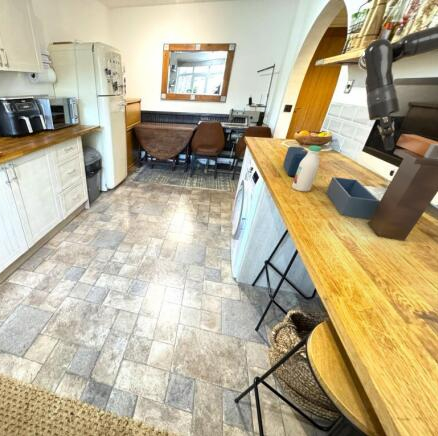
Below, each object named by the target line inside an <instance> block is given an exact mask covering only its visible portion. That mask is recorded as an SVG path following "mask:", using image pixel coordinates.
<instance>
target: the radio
mask: <svg viewBox="0 0 438 436" xmlns="http://www.w3.org/2000/svg"><path fill="white" fill-rule="evenodd" d="M307 138H308V137H305V140H304V142H303V146H289V147H288V148H287V150H286V154H285V157H284V160H283V163H282V166H283V168H284V170H285V172H286V175H287V176H288V177H292V178H293V177H294V178H295V176H296V173H297V170H298V167H299V165H300V162H301V161H302V160H303V159H304V157H305V156H306V155H307V154H308V150H306V149H305V148H304V146H305V143H306V141H307Z"/></svg>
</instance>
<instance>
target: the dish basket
mask: <svg viewBox="0 0 438 436" xmlns="http://www.w3.org/2000/svg"><path fill="white" fill-rule="evenodd" d="M325 193H326V195H327V196H328V198H329V200H330V201H331V202H332V204H333V205H334V207H335V208H336V209H337V211H338V212H339V214H340V215H341V216H345V217H352V218H356V219H357V218H359V219H365V220H370V218H371V216H372V215H373V213H374V211H375V209H376V208H377V206H378V204H379V202H380V200H379V198H377V197H376V196H375V195H374V194H373V193H372V192H371V191H370V190H369V189H368V188H366V186H364V185H363V183H361V182H360V181H359V180H358V179H353V178H347V177H336V176H332V177H331V179H330V182H329V184H328V186H327V189H326V192H325Z"/></svg>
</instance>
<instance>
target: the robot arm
mask: <svg viewBox="0 0 438 436" xmlns="http://www.w3.org/2000/svg"><path fill="white" fill-rule="evenodd" d="M436 51H438V25H435V26H432V27H428V28H425V29H421V30H418V31H415V32H414V31H413V32H410V33H408V34H406V35H404V36H402V37H401V38H400V39H398V40H396V41H394V42H391V41H390V40H389V39H388V38H378V39H374V40H373V41H371V42H369V44H368V45H367V46H366V48H365V49H364V51H363V52H362V54H361V55H360V57H359V60H358V67H359V68H360V69H361V70H363V71H366V76H365V79H364V87H365V88H364V89H365V95H366V107H367V114H368V119H369V121H377V120H379V122H378V123H377V129H378V131H379V135H380V136H381V140H382V141H383V146H384V151H392V150H393V149H395V148H394V147H395V141H394V133H395V120H394V119H395V118H392V116H393V115H396V114H398V113H399V112H400V110H401V109H400V103H399V97H398V96H399V95H398V91H397V88H396V85H395V79H394V73H393V64H394V63H397V62H399V61H402V60H405V59H411V58H413V57H414V58H415V57H419V56H422V55H426V54H429V53H434V52H436Z"/></svg>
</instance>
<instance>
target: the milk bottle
mask: <svg viewBox="0 0 438 436" xmlns="http://www.w3.org/2000/svg"><path fill="white" fill-rule="evenodd" d="M321 151H322V146H319V145H309V146H308V150H307V152H308V154H307V155H306V156H305V157H304V159H303V160H302V161H301V162H300V165H299V167H298V170H297V173H296V176H295V177H294V179H293V183H292V185H291V188H292V189H293V190H295V191H299V192H305V193H306V192H310V191H311V189H312V186H313V184H314V181H315V179H316V177H317V173H318V170H319V167H320V157H319V156H320V153H321Z"/></svg>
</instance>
